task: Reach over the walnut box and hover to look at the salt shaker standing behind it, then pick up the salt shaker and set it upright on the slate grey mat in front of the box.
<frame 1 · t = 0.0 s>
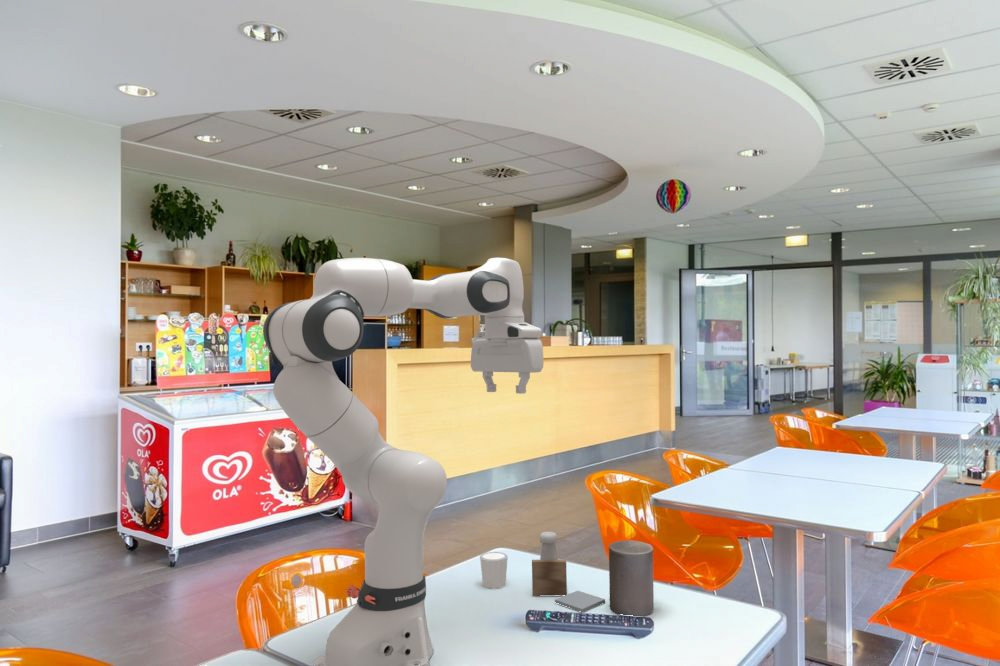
hand: (505, 392, 152), 48 cm above the table, tool pointing down, fingers open, 8 cm apart
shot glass: (494, 585, 167), on the table
salt shaker: (549, 587, 165), on the table
walnut box: (549, 595, 159), on the table
slate mat: (580, 603, 154), on the table
pillar candle: (632, 609, 150), on the table
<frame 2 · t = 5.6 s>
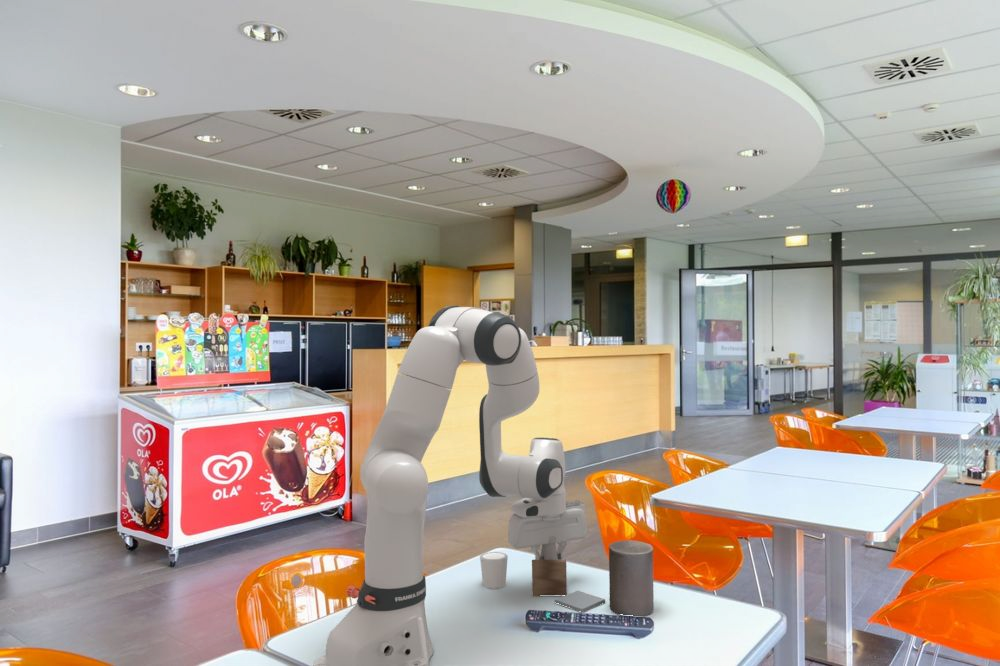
hand: (548, 561, 165), 6 cm above the table, tool pointing down, fingers closed on salt shaker, 4 cm apart
salt shaker: (549, 587, 165), on the table, touching gripper
everything else where it was.
when the fingers open (8 cm above the table, at t = 11.7 s): salt shaker drops 1 cm, resting on slate mat.
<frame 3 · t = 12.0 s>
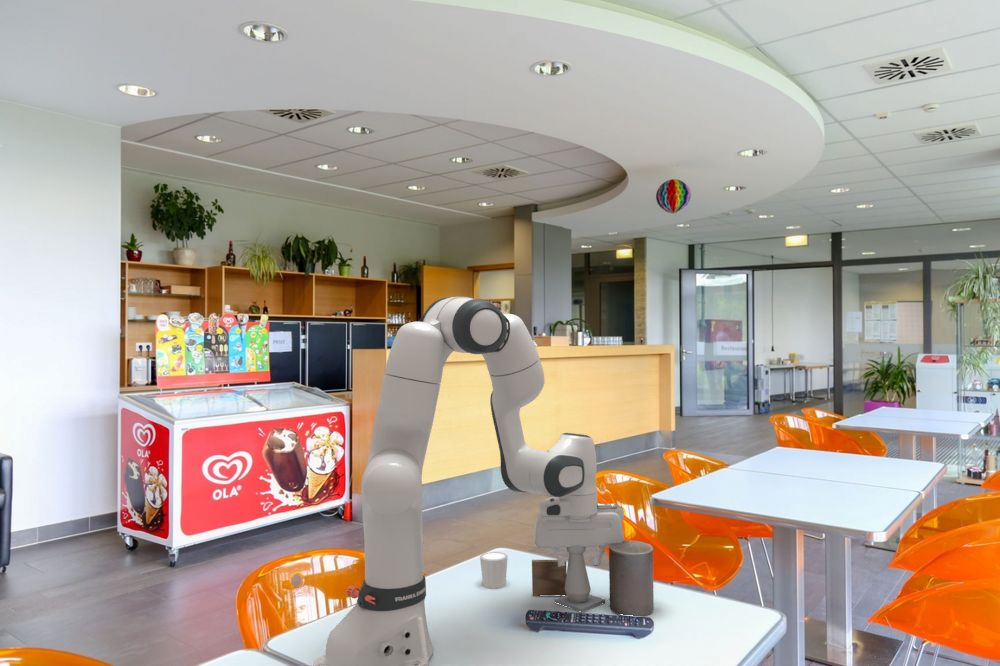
hand: (579, 565, 154), 8 cm above the table, tool pointing down, fingers open, 7 cm apart
salt shaker: (578, 600, 154), point 1 cm above the table, touching slate mat
everything else where it was.
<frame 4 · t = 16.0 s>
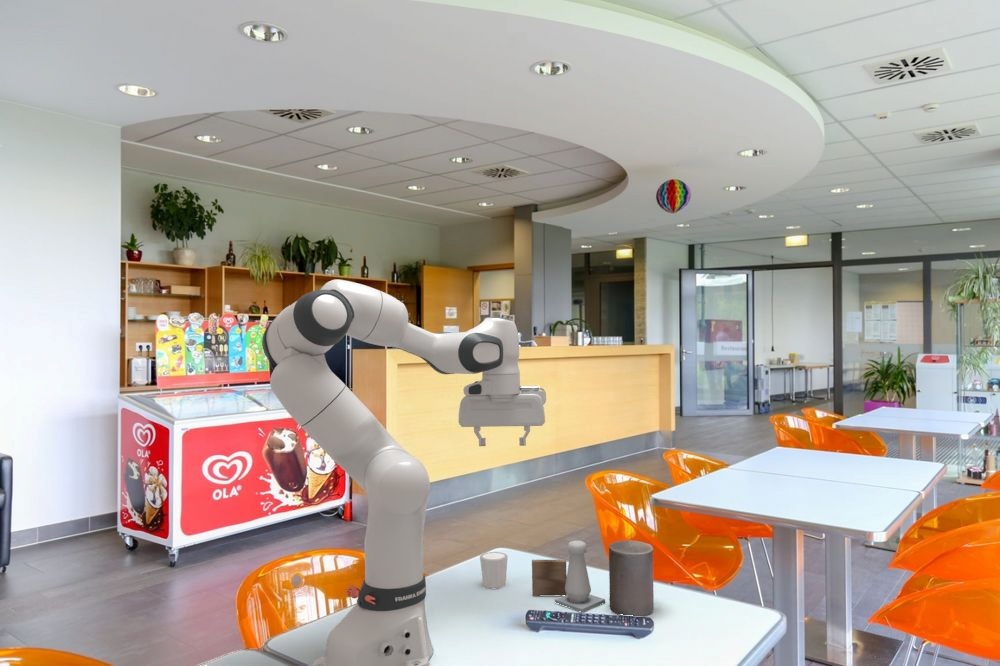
hand: (502, 445, 159), 35 cm above the table, tool pointing down, fingers open, 8 cm apart
nothing on the table moved.
at the end: salt shaker inside the target area on the slate mat (0.4 cm from its centre), point 0.6 cm above the slate mat's base; salt shaker tilted 0°; the gripper is holding nothing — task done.
